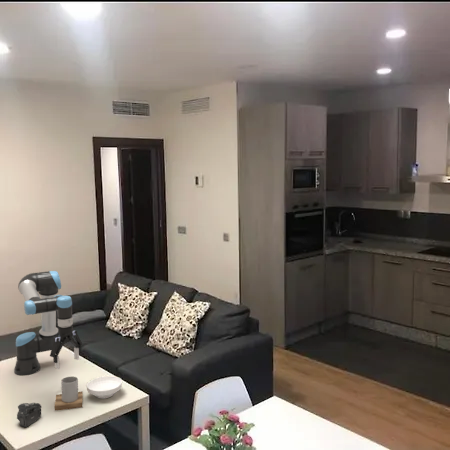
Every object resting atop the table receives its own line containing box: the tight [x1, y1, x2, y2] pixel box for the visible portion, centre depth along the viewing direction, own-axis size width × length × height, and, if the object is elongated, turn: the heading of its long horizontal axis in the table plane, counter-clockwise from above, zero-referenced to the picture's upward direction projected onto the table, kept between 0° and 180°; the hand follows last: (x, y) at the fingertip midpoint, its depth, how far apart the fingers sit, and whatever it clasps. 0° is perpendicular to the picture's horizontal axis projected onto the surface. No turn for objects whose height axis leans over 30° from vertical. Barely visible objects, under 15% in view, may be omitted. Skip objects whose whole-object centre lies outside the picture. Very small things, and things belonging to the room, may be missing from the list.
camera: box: [16, 402, 42, 428], centre depth 242 cm, size 13×10×10 cm
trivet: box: [54, 391, 84, 412], centre depth 261 cm, size 14×14×3 cm
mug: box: [61, 375, 79, 403], centre depth 261 cm, size 12×8×11 cm
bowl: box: [85, 375, 123, 399], centre depth 270 cm, size 20×20×7 cm
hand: (67, 363), depth 259 cm, fingers open, 13 cm apart
